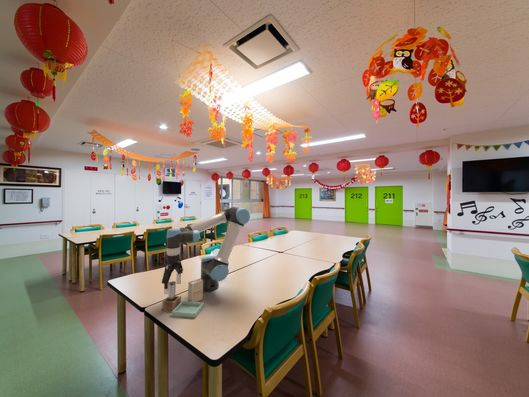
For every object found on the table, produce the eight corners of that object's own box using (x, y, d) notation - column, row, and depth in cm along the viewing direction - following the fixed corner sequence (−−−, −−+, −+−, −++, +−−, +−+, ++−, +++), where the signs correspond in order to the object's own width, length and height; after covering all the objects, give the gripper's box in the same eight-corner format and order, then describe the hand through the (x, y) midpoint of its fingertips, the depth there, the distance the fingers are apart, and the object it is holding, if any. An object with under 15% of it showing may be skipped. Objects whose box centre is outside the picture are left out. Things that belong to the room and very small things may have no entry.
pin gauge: (170, 305, 126) (170, 281, 126) (176, 305, 126) (177, 281, 126) (166, 308, 122) (167, 283, 122) (172, 309, 122) (173, 284, 122)
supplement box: (198, 297, 137) (199, 278, 137) (202, 300, 134) (203, 280, 134) (187, 302, 130) (188, 281, 130) (191, 304, 127) (192, 284, 127)
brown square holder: (169, 303, 128) (169, 295, 128) (180, 304, 128) (181, 296, 128) (162, 309, 121) (162, 301, 121) (174, 310, 120) (174, 302, 120)
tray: (181, 305, 127) (182, 301, 127) (203, 306, 125) (203, 302, 125) (171, 316, 115) (171, 311, 115) (195, 318, 113) (195, 313, 113)
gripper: (177, 248, 137) (177, 279, 137) (154, 260, 112) (154, 298, 112) (188, 249, 136) (188, 280, 137) (167, 260, 111) (167, 299, 112)
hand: (173, 288), depth 124 cm, fingers open, 13 cm apart
